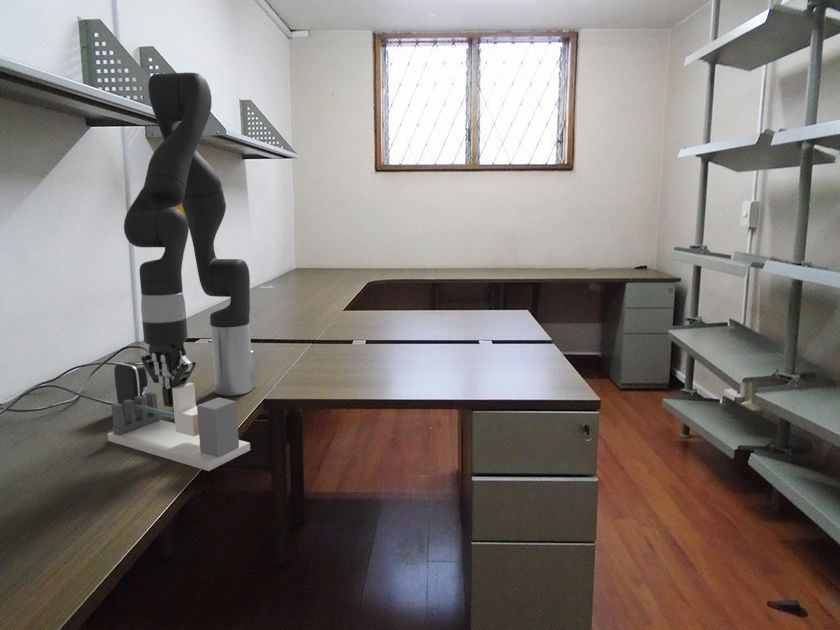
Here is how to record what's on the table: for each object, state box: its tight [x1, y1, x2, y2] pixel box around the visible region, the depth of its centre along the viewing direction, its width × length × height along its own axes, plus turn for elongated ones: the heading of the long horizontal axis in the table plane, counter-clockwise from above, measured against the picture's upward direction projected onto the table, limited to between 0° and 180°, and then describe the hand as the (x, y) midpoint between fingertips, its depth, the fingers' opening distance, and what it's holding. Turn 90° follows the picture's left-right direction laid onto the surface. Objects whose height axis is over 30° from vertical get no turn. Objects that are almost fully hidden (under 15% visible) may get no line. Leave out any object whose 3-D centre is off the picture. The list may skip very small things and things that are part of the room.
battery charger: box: [113, 361, 148, 414], centre depth 127 cm, size 7×4×11 cm, turn 63°
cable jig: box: [107, 391, 251, 472], centre depth 109 cm, size 10×28×10 cm, turn 62°
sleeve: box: [172, 382, 199, 436], centre depth 106 cm, size 4×5×8 cm
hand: (171, 405), depth 109 cm, fingers closed
